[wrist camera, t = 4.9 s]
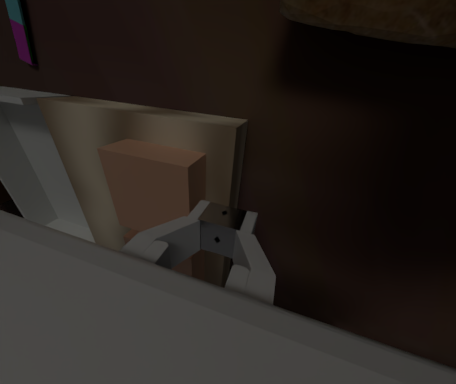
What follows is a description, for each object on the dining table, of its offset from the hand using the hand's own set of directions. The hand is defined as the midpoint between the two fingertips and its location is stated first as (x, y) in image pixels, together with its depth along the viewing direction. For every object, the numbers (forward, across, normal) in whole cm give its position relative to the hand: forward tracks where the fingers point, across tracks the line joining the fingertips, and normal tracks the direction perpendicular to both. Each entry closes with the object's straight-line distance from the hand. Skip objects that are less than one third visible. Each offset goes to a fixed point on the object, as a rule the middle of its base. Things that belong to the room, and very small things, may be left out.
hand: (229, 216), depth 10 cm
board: (+4, +7, +3) cm, 8 cm away
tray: (+4, +18, +3) cm, 18 cm away
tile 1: (+1, +4, 0) cm, 5 cm away
